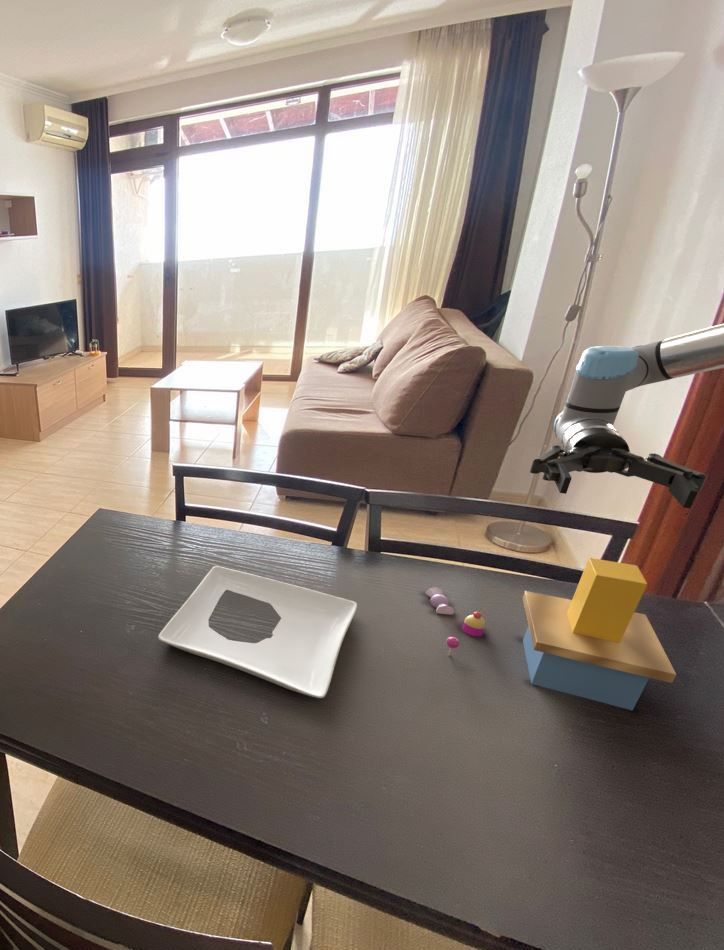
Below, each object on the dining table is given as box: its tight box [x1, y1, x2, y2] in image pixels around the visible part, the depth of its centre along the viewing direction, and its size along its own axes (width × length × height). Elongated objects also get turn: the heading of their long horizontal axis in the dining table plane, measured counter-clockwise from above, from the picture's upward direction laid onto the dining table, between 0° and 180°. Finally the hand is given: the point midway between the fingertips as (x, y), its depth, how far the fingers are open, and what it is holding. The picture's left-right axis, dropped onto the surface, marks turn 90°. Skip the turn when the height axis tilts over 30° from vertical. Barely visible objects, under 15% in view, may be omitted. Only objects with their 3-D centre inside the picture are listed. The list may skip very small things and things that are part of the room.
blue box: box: [522, 625, 650, 711], centre depth 81 cm, size 11×11×8 cm
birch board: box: [522, 590, 677, 684], centre depth 79 cm, size 14×14×2 cm
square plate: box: [157, 565, 358, 699], centre depth 96 cm, size 27×27×4 cm
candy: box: [425, 586, 487, 657], centre depth 93 cm, size 18×8×6 cm, turn 164°
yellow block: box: [567, 557, 648, 643], centre depth 76 cm, size 5×5×10 cm
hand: (625, 492), depth 81 cm, fingers open, 13 cm apart
